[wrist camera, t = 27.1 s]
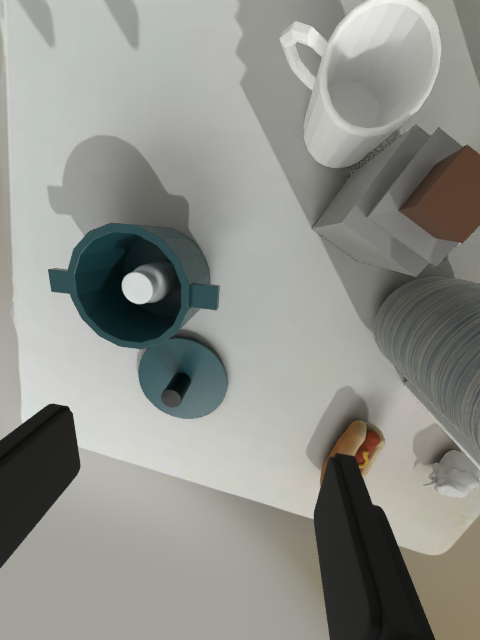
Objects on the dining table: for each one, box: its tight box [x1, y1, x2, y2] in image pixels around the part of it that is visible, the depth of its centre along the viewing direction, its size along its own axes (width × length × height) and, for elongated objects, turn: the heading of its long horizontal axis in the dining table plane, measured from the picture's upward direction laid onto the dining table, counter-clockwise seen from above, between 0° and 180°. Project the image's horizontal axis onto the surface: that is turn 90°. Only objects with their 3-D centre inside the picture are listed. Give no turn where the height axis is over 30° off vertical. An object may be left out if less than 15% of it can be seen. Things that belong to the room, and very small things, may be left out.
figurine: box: [423, 450, 480, 497], centre depth 36 cm, size 4×8×5 cm, turn 142°
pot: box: [48, 223, 220, 349], centre depth 30 cm, size 13×18×10 cm
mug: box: [279, 0, 442, 169], centre depth 22 cm, size 8×12×10 cm
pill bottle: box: [122, 261, 180, 304], centre depth 30 cm, size 4×4×8 cm
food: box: [320, 420, 385, 486], centre depth 37 cm, size 14×6×5 cm, turn 163°
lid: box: [138, 337, 227, 419], centre depth 36 cm, size 14×14×6 cm
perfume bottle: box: [312, 125, 480, 277], centre depth 21 cm, size 7×7×18 cm
